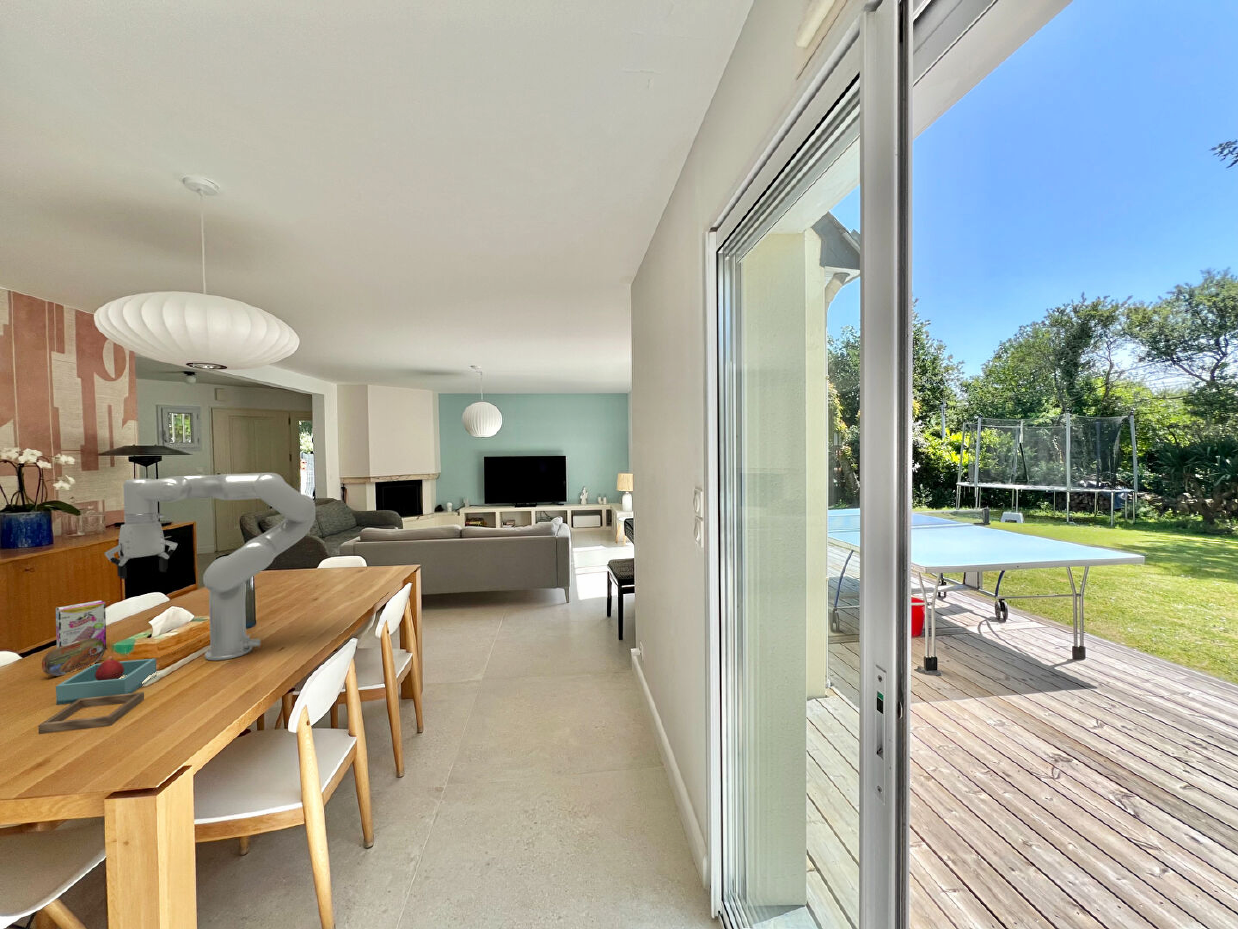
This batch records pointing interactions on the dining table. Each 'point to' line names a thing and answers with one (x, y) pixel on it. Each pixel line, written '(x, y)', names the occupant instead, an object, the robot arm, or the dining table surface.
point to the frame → (59, 725)
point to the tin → (73, 656)
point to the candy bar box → (81, 622)
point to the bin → (104, 682)
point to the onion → (109, 670)
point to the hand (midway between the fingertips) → (143, 575)
